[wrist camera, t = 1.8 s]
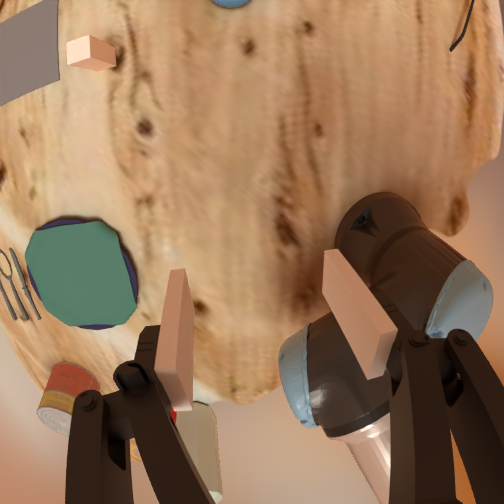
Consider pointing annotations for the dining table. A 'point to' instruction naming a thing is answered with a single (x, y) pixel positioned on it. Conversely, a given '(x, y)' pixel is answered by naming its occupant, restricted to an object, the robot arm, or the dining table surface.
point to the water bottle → (202, 445)
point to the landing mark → (29, 50)
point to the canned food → (64, 395)
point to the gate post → (90, 54)
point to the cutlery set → (78, 275)
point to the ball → (230, 3)
